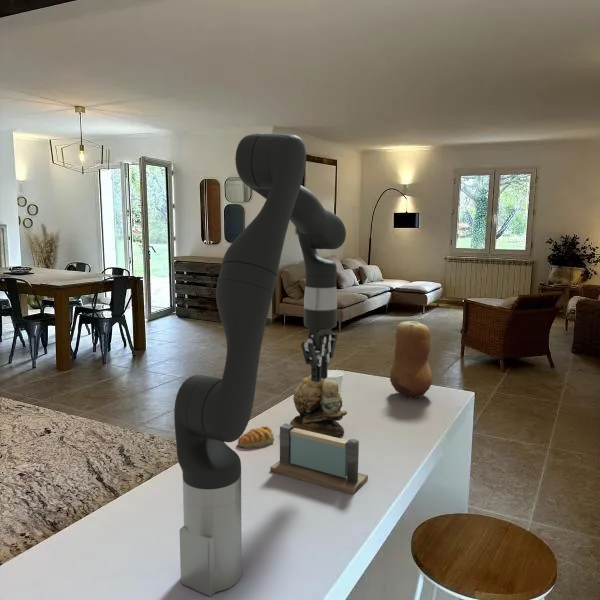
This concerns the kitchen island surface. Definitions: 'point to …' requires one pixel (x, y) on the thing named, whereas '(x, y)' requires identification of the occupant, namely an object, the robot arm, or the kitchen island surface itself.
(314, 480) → the gate frame
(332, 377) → the white cup
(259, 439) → the pastry
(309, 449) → the gate panel
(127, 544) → the kitchen island surface
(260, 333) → the robot arm
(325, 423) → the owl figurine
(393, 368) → the butternut squash
